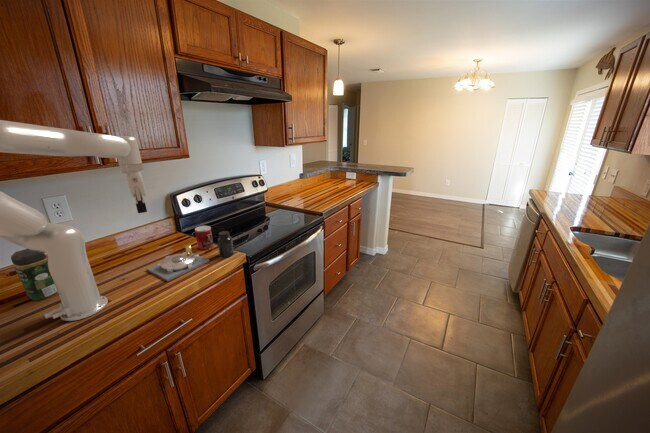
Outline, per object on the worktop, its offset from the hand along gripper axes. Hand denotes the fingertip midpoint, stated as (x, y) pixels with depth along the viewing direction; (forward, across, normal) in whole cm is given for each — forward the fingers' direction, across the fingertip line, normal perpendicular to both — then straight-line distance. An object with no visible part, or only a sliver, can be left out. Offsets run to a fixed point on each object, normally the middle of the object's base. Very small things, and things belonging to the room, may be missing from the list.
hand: (142, 212), depth 111 cm
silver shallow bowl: (+26, -3, -9) cm, 28 cm away
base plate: (+27, -3, -9) cm, 29 cm away
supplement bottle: (+27, -5, -30) cm, 41 cm away
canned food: (+27, +11, -24) cm, 38 cm away
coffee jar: (+27, +3, +37) cm, 46 cm away
